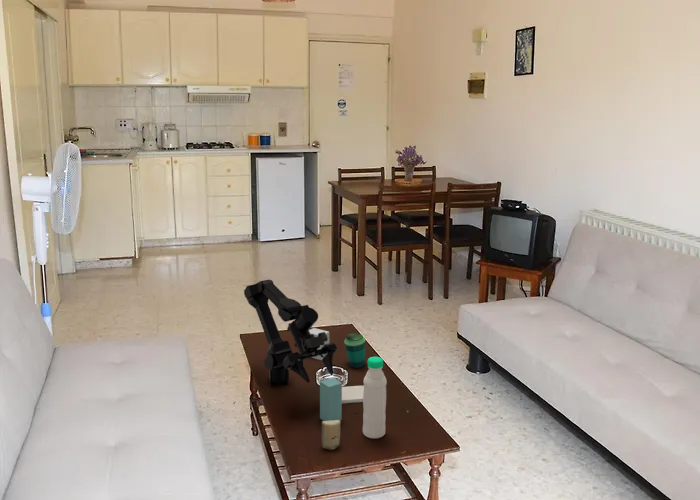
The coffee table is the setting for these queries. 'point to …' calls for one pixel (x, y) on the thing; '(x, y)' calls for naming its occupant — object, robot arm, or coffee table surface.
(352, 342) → the cup
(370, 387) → the water bottle
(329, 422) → the power adapter
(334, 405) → the teal block
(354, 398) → the cream tile
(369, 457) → the coffee table surface
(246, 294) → the robot arm
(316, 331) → the small box
